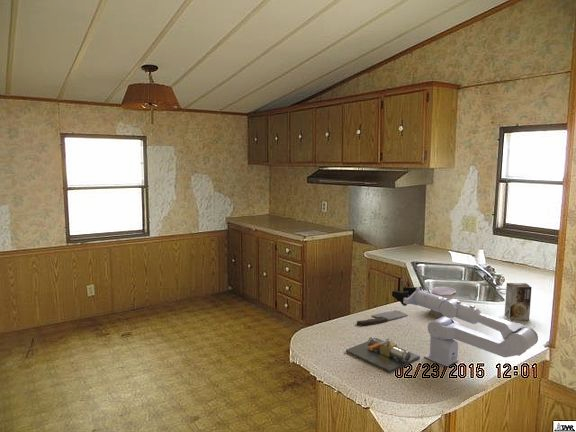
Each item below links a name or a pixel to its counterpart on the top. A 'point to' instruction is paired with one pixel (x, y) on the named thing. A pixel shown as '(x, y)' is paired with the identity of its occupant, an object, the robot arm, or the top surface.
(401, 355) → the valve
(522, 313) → the coffee box
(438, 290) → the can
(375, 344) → the lever
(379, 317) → the cleaver
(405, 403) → the top surface
